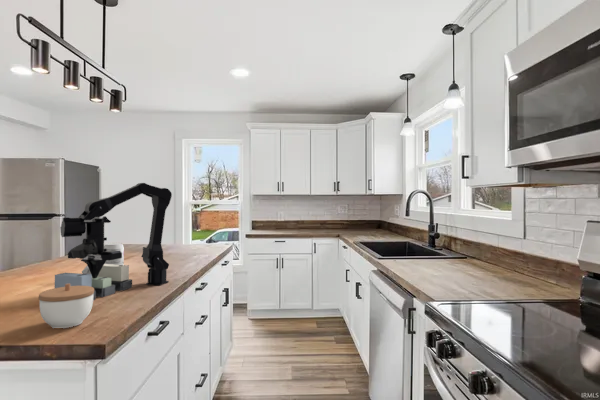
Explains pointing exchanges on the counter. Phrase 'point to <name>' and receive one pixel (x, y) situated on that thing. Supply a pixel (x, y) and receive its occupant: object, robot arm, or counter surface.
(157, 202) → the robot arm
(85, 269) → the grey angular block
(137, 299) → the counter surface
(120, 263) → the supplement can
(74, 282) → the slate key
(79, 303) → the lidded bowl
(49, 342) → the counter surface
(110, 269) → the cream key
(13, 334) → the counter surface
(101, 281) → the sage key
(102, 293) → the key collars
